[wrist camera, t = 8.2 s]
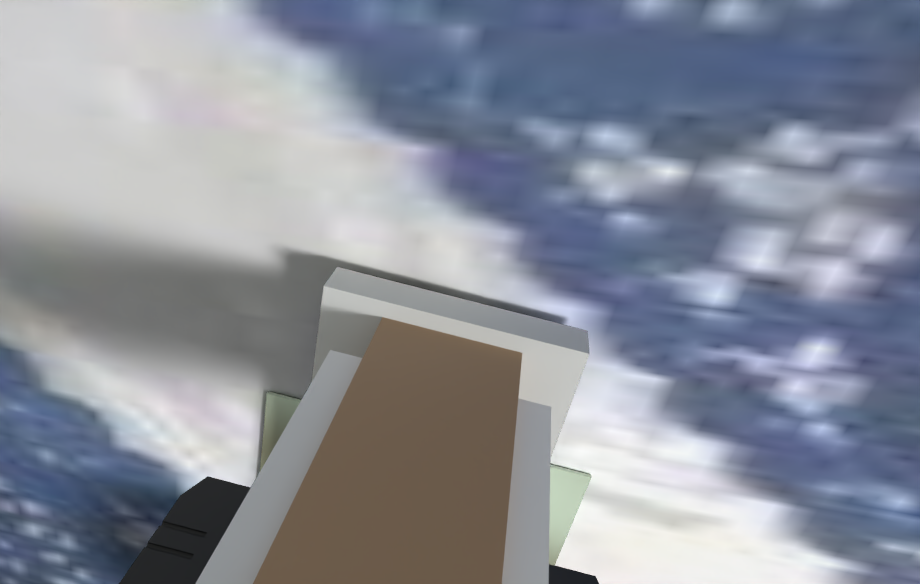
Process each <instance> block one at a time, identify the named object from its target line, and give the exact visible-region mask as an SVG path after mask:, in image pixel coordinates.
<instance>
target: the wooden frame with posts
mask: <svg viewBox="0 0 920 584" xmlns="http://www.w3.org/2000/svg"><path fill="white" fill-rule="evenodd" d="M300 402H301V400H300V399H296V398H292V397H288V396H285V395H281V394H277V393H273V392H269V391H268V392H267V396H266V407H265V419H264V430H263V441H262V452H261V463H260V471H261V469H262V467H263V466H264V464H265V462H266V461H267V459H268V457H269V455H270V454H271V452H272V450H273V448H274V447H275V445H276V443H277V441H278V440H279V438H280V436H281V435H282V433H283V431H284V429H285V428H286V426H287V424H288V422H289V421H290V419H291V417H292V415H293V414H294V412H295V410H296V409H297V407H298V405H299V403H300ZM590 480H591V475H590V474H586V473H582V472H578V471H574V470H570V469H566V468H562V467H559V466H555V465H551V464H550V522H549V564H550V565H555V563H556V560H557V558H558V556H559V553H560V551H561V549H562V546H563V544H564V541H565V539H566V537H567V534H568V532H569V530H570V527H571V525H572V522H573V520H574V518H575V515H576V513H577V511H578V508H579V506H580V503H581V501H582V499H583V496H584V494H585V491H586V489H587V487H588V484H589V482H590Z"/></svg>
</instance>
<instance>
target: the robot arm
mask: <svg viewBox="0 0 920 584" xmlns="http://www.w3.org/2000/svg"><path fill="white" fill-rule="evenodd" d="M361 360H362V358H360V357H356V356H352V355H348V354H344V353H340V352H336V351H333V350H330V351H329V353H328V355H327V357H326V358H325V360H324V362H323V364H322V365H321V367H320V369H319V370H318V372H317V374H316V376H315V377H314V379H313V381H312V383H311V384H310V386H309V388H308V389H307V391H306V393H305V395H304V396H303V398H302V400H301V402H300V403H299V405H298V407H297V409H296V410H295V412H294V414H293V415H292V417H291V419H290V421H289V422H288V424H287V426H286V428H285V429H284V431H283V433H282V435H281V436H280V438H279V440H278V441H277V443H276V445H275V447H274V448H273V450H272V452H271V454H270V455H269V457H268V459H267V461H266V462H265V464H264V466H263V467H262V469H261V471H260V473H259V474H258V476H257V478H256V480H255V481H254V483H253V485H252V487H251V488H250V487H246V486H242V485H238V484H234V483H231V482H227V481H223V480H219V479H215V478H211V477H206V478H205V479H203V480H202V481H201V482H199V483H198V484H196V485H195V486H193V487H192V488H191V489H189V490H188V491H186V492H185V493H183V494H182V495H181V496H180V497H179V499H178V500H177V501H176V503H175V504H174V506H173V507H172V509H171V510H170V511H169V513H168V514H167V516H166V517H165V519H164V520H163V523H162V525H161V526H159V527H158V529H157V530H156V531H155V533H154V534H153V536H152V537H151V539H150V540H149V542H148V545H147V547H146V548H145V547H144V549H143V550H142V552H141V553H140V554H139V556H138V557H137V559H136V560H135V562H134V563H133V564H132V566H131V567H130V569H129V570H128V572H127V573H126V574H125V576H124V577H123V579H122V580H121V582H120V583H119V584H253V582H254V580H255V578H256V576H257V574H258V572H259V570H260V568H261V566H262V564H263V562H264V560H265V558H266V556H267V553H268V551H269V549H270V547H271V545H272V543H273V541H274V539H275V537H276V535H277V533H278V531H279V529H280V527H281V525H282V523H283V521H284V519H285V516H286V514H287V512H288V510H289V508H290V506H291V504H292V502H293V500H294V498H295V496H296V494H297V492H298V490H299V488H300V486H301V484H302V481H303V479H304V477H305V475H306V473H307V471H308V469H309V467H310V465H311V463H312V461H313V459H314V457H315V455H316V453H317V451H318V449H319V447H320V444H321V442H322V440H323V438H324V436H325V434H326V432H327V430H328V428H329V426H330V424H331V422H332V420H333V418H334V416H335V414H336V412H337V410H338V407H339V405H340V403H341V401H342V399H343V397H344V395H345V393H346V391H347V389H348V387H349V385H350V383H351V381H352V379H353V377H354V375H355V372H356V370H357V368H358V366H359V364H360V362H361ZM550 456H551V407H550V406H546V405H542V404H538V403H535V402H531V401H527V400H523V399H519V398H518V407H517V419H516V430H515V441H514V452H513V463H512V474H511V486H510V497H509V508H508V519H507V530H506V541H505V553H504V564H503V575H502V584H599V583H598V581H597V578H596V576H592V575H589V574H585V573H581V572H577V571H573V570H569V569H566V568H562V567H558V566H554V565H550V564H549V522H550Z"/></svg>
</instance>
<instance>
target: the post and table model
mask: <svg viewBox="0 0 920 584" xmlns="http://www.w3.org/2000/svg"><path fill="white" fill-rule="evenodd" d="M330 350H333V351H336V352H340V353H344V354H348V355H352V356H356V357H360V358H362V360H361V362H360V364H359V366H358V368H357V370H356V372H355V375H354V377H353V379H352V381H351V383H350V385H349V387H348V389H347V391H346V393H345V395H344V397H343V399H342V401H341V403H340V405H339V407H338V410H337V412H336V414H335V416H334V418H333V420H332V422H331V424H330V426H329V428H328V430H327V432H326V434H325V436H324V438H323V440H322V442H321V444H320V447H319V449H318V451H317V453H316V455H315V457H314V459H313V461H312V463H311V465H310V467H309V469H308V471H307V473H306V475H305V477H304V479H303V481H302V484H301V486H300V488H299V490H298V492H297V494H296V496H295V498H294V500H293V502H292V504H291V506H290V508H289V510H288V512H287V514H286V516H285V519H284V521H283V523H282V525H281V527H280V529H279V531H278V533H277V535H276V537H275V539H274V541H273V543H272V545H271V547H270V549H269V551H268V553H267V556H266V558H265V560H264V562H263V564H262V566H261V568H260V570H259V572H258V574H257V576H256V578H255V580H254V582H253V584H502V575H503V564H504V553H505V541H506V530H507V519H508V508H509V497H510V486H511V474H512V463H513V452H514V441H515V430H516V419H517V407H518V398H519V399H523V400H527V401H531V402H535V403H538V404H542V405H546V406H550V407H551V456H552V453H553V450H554V448H555V445H556V442H557V440H558V437H559V434H560V432H561V429H562V426H563V423H564V421H565V418H566V415H567V413H568V410H569V407H570V405H571V402H572V399H573V397H574V394H575V391H576V389H577V386H578V383H579V381H580V378H581V375H582V372H583V370H584V367H585V364H586V362H587V359H588V356H589V342H588V331H587V330H583V329H579V328H575V327H571V326H567V325H563V324H559V323H555V322H551V321H548V320H544V319H540V318H536V317H532V316H528V315H524V314H520V313H516V312H512V311H508V310H504V309H500V308H497V307H493V306H489V305H485V304H481V303H477V302H473V301H469V300H465V299H461V298H457V297H453V296H449V295H446V294H442V293H438V292H434V291H430V290H426V289H422V288H418V287H414V286H410V285H406V284H402V283H398V282H395V281H391V280H387V279H383V278H379V277H375V276H371V275H367V274H363V273H359V272H355V271H351V270H348V269H344V268H340V267H337V268H336V269H335V271H334V272H333V273H332V275H331V276H330V278H329V279H328V280H327V282H326V283H325V285H324V287H323V295H322V302H321V310H320V318H319V326H318V333H317V341H316V349H315V357H314V364H313V372H312V380H311V383H312V381H313V379H314V377H315V376H316V374H317V372H318V370H319V369H320V367H321V365H322V364H323V362H324V360H325V358H326V357H327V355H328V353H329V351H330ZM551 456H550V458H551Z"/></svg>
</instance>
